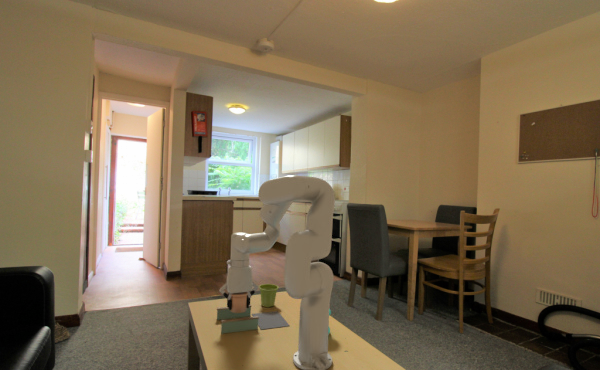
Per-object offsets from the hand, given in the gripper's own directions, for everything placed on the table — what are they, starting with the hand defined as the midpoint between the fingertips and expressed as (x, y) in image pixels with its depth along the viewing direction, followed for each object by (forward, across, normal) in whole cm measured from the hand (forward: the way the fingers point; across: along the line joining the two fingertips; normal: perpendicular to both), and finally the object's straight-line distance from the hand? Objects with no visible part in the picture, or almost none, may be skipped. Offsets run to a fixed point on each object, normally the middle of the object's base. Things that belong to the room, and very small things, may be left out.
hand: (238, 307), depth 126 cm
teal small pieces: (+8, +28, -16) cm, 33 cm away
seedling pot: (+1, 0, 0) cm, 1 cm away
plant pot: (+7, +18, +18) cm, 26 cm away
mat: (+7, +14, +1) cm, 15 cm away
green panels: (+7, 0, +1) cm, 7 cm away
